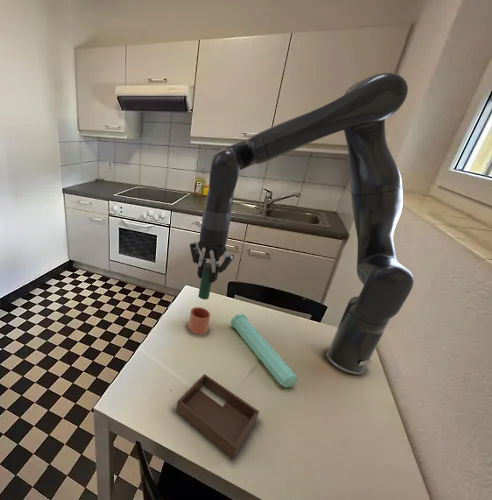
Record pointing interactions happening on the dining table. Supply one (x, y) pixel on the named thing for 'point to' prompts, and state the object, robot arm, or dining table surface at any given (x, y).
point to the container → (264, 351)
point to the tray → (218, 415)
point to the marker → (205, 281)
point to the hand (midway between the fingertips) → (206, 279)
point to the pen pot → (199, 320)
